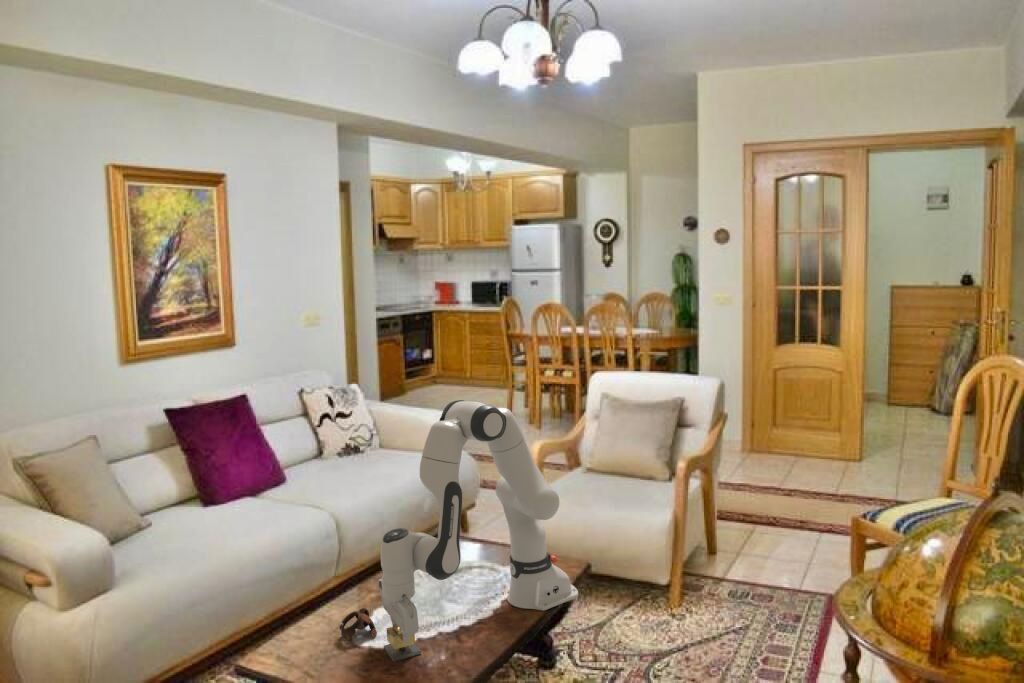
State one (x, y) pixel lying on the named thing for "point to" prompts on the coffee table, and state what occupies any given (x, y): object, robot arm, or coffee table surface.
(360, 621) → the pottery mug
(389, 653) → the post
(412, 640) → the wooden square frame
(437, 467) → the robot arm
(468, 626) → the coffee table surface
